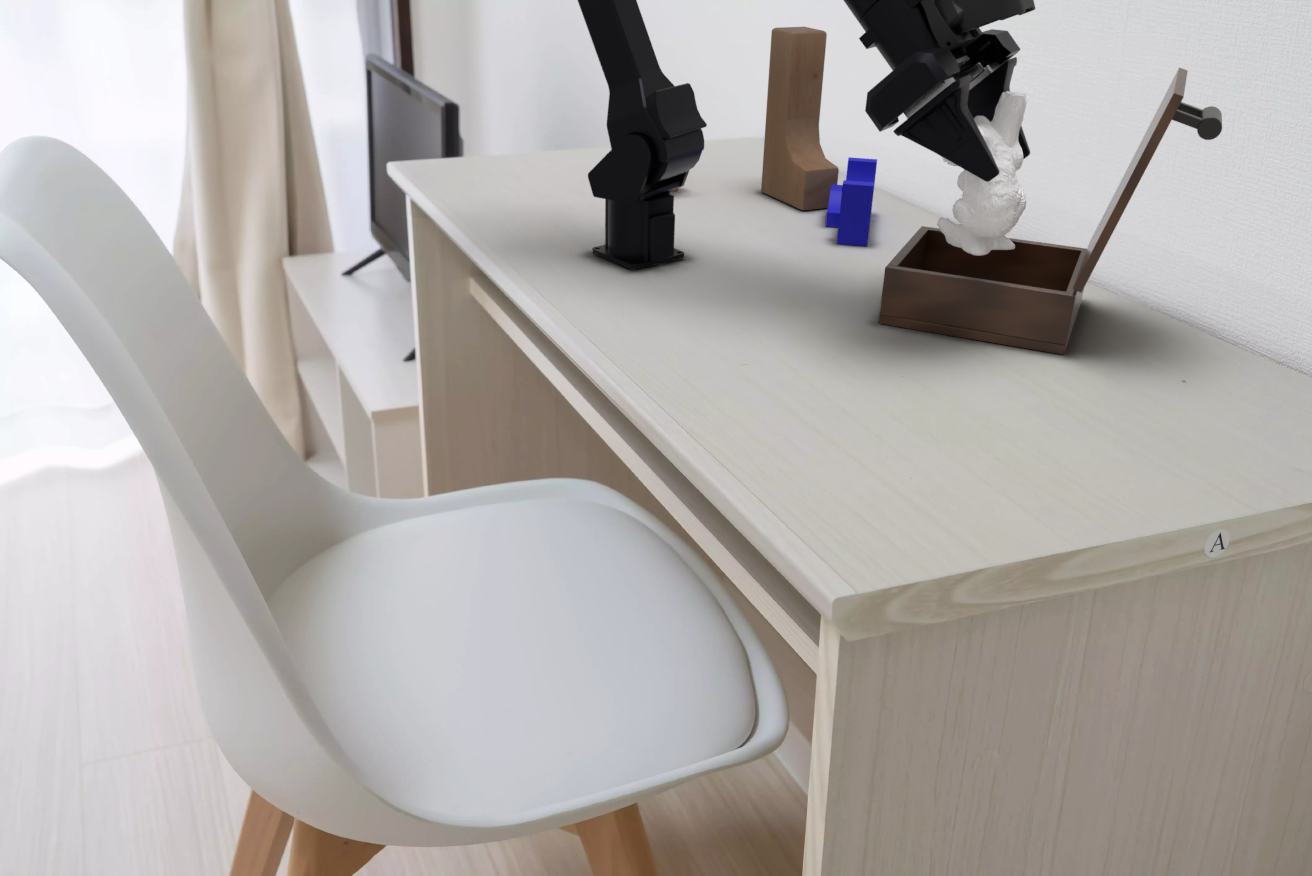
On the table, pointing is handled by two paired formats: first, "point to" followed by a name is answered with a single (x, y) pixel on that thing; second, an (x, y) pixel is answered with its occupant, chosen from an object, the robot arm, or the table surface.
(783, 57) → the wooden block
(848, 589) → the table surface
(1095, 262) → the chest lid
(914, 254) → the chest
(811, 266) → the table surface
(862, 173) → the cable clip
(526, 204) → the table surface
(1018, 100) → the white sculpted figure
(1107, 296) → the table surface
